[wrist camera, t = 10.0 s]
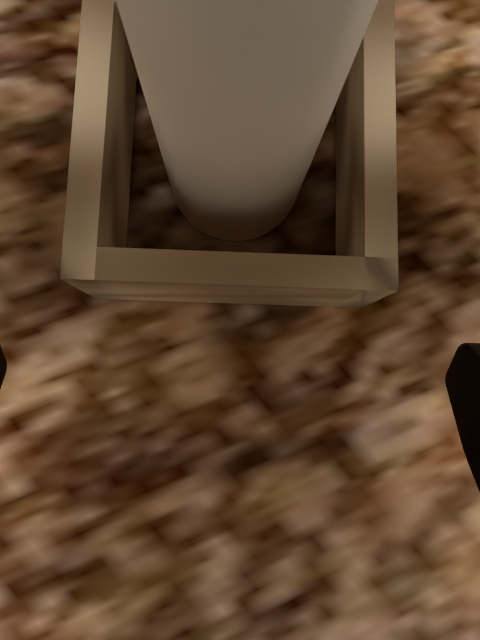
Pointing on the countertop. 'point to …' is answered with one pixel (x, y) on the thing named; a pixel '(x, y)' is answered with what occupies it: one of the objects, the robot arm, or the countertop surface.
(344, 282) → the beech slot rack
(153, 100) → the cylinder
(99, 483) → the countertop surface
